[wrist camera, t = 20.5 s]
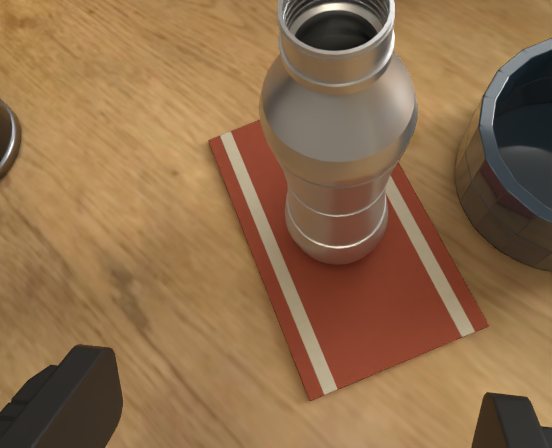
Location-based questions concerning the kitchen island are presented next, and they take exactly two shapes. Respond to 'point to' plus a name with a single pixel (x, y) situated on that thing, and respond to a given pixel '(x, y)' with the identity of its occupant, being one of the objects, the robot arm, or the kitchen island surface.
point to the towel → (346, 276)
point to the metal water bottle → (337, 122)
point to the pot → (512, 159)
